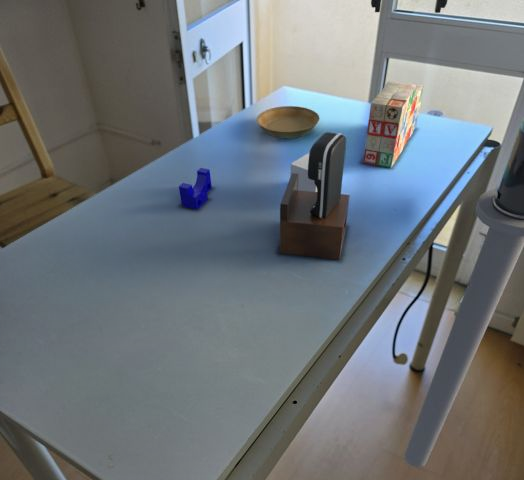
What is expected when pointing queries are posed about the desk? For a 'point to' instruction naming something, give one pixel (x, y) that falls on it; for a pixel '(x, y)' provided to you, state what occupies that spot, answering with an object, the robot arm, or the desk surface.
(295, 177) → the brown boxy piece
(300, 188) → the white cube
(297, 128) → the plant saucer
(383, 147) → the stack of blocks
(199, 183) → the cable holder
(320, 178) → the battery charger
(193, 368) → the desk surface
